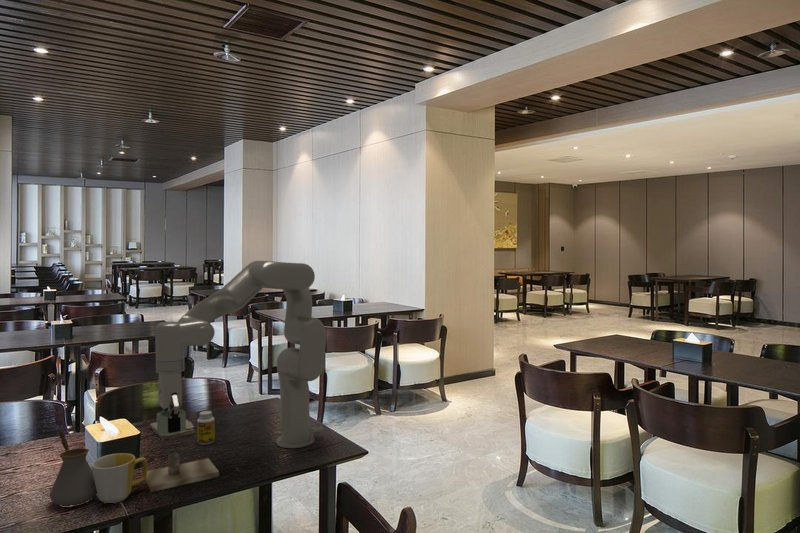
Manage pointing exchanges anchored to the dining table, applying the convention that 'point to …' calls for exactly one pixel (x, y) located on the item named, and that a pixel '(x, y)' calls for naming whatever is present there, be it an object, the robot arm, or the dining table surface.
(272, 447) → the dining table surface
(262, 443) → the dining table surface
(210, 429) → the supplement bottle
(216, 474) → the post board
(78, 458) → the coffee pot
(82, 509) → the dining table surface
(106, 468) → the mug
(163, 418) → the collar
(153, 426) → the washcloth
